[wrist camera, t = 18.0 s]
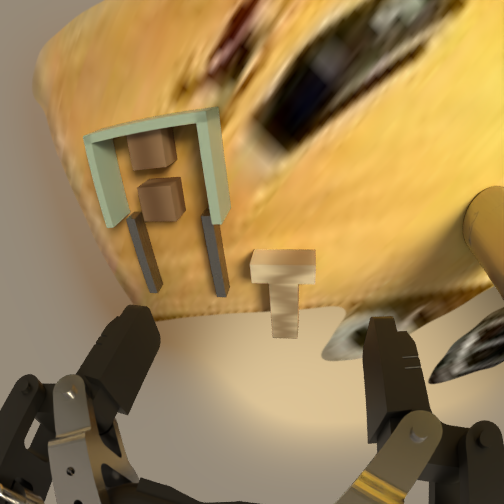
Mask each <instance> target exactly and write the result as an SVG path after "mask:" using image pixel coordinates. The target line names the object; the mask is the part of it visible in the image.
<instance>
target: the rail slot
mask: <svg viewBox="0 0 504 504" xmlns="http://www.w3.org/2000/svg"><path fill="white" fill-rule="evenodd" d="M201 219H202V224H203V229H204V235H205V240H206V245H207V250H208V255H209V260H210V265H211V270H212V275H213V280H214V285H215V290H216V294H217V297H227V294H228V291H229V288H230V285H229V279H228V273H227V267H226V261H225V255H224V249H223V243H222V237H221V231H220V225H219V224H212V221H211V215H210V209H209V208H206V210H205V211H204V213H203V214H202V216H201ZM126 220H127V224H128V227H129V231H130V234H131V237H132V241H133V244H134V247H135V250H136V253H137V256H138V259H139V262H140V265H141V268H142V271H143V274H144V277H145V280H146V283H147V286H148V289H149V291H150V293H158V292H159V290H160V288H161V287H162V285H163V282H162V279H161V276H160V273H159V269H158V266H157V263H156V259H155V256H154V253H153V249H152V246H151V242H150V239H149V235H148V232H147V228H146V224H145V221H144V217H143V213H142V212H134V213H132V214H131V215H130V216H129V217H128V218H127V219H126Z"/></svg>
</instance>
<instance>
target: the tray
mask: <svg viewBox="0 0 504 504" xmlns="http://www.w3.org/2000/svg"><path fill="white" fill-rule="evenodd" d="M194 123H196V125H197V132H198V139H199V146H200V153H201V159H202V166H203V172H204V179H205V185H206V191H207V197H208V203H209V209H210V215H211V221H212V224H222V223H223V221H224V219H225V218H226V216H227V214H228V212H229V210H230V208H231V204H230V196H229V189H228V181H227V173H226V166H225V158H224V150H223V142H222V134H221V126H220V118H219V110H218V107H211V108H203V109H196V110H189V111H183V112H177V113H171V114H165V115H160V116H155V117H150V118H145V119H140V120H136V121H131V122H127V123H122V124H118V125H114V126H110V127H106V128H103V129H100V130H97V131H95V132H92V133H90V134H87V135H85V136H83V139H84V144H85V149H86V153H87V157H88V162H89V166H90V170H91V174H92V177H93V181H94V185H95V189H96V192H97V196H98V199H99V203H100V206H101V210H102V213H103V216H104V220H105V223H106V226H107V228H113V227H115V226H116V225H117V224H118V223H119V222H120V221H121V220H122V219H123V218H124V217H125V216H127V215H128V214H129V213H130V210H129V206H128V202H127V199H126V195H125V191H124V187H123V183H122V179H121V174H120V170H119V166H118V161H117V157H116V152H115V148H114V143H113V138H115V137H120V136H124V135H129V134H134V133H139V132H144V131H149V130H155V129H161V128H167V127H173V126H180V125H186V124H194Z"/></svg>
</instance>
